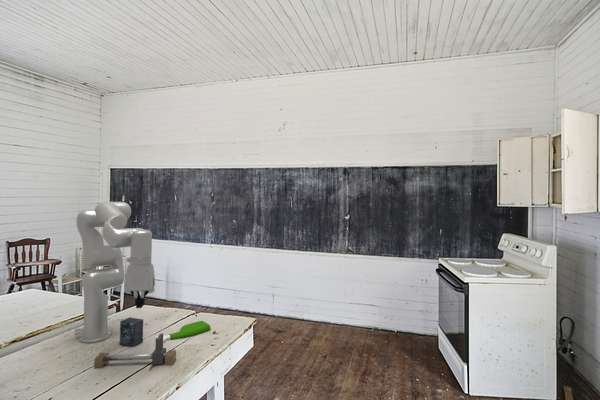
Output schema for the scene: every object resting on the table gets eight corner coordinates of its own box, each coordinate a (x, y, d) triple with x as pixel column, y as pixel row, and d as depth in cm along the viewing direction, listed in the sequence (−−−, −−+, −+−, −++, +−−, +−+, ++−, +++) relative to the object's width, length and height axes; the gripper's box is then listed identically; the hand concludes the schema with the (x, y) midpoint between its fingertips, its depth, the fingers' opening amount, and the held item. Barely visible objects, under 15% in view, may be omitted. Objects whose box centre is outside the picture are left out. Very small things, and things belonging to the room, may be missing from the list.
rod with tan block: (89, 373, 120) (89, 363, 120) (104, 357, 132) (104, 348, 132) (170, 369, 124) (170, 359, 124) (178, 354, 136) (178, 345, 136)
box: (119, 344, 144) (119, 321, 144) (129, 339, 149) (130, 316, 149) (133, 347, 142) (133, 323, 142) (143, 342, 147) (143, 319, 147)
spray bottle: (212, 331, 162) (162, 347, 144) (201, 325, 169) (153, 339, 152) (212, 325, 162) (162, 340, 144) (201, 319, 169) (153, 333, 152)
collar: (151, 365, 126) (151, 339, 126) (156, 358, 132) (156, 333, 132) (162, 365, 126) (162, 339, 126) (166, 357, 132) (166, 333, 132)
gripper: (116, 263, 123) (115, 310, 124) (157, 263, 125) (156, 310, 125) (125, 259, 131) (123, 304, 131) (163, 259, 133) (162, 303, 133)
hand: (139, 307), depth 128 cm, fingers closed
